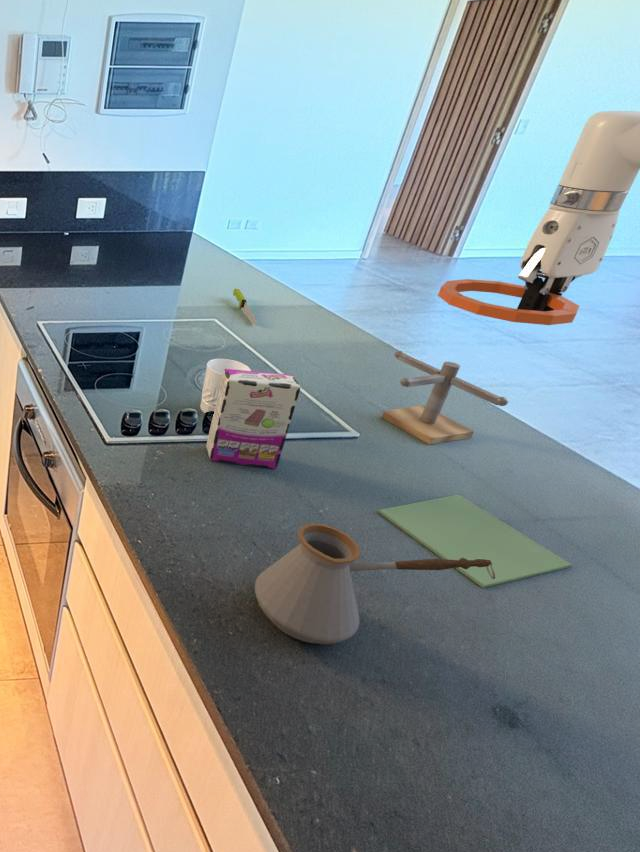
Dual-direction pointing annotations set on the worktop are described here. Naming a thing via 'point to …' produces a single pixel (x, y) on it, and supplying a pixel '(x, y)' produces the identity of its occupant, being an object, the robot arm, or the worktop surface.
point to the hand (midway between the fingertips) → (533, 313)
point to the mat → (474, 539)
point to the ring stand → (435, 403)
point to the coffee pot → (326, 584)
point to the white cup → (216, 380)
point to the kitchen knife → (244, 305)
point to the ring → (559, 315)
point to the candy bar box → (252, 417)
